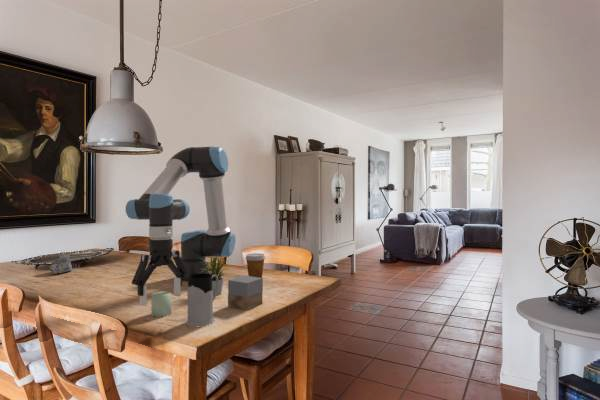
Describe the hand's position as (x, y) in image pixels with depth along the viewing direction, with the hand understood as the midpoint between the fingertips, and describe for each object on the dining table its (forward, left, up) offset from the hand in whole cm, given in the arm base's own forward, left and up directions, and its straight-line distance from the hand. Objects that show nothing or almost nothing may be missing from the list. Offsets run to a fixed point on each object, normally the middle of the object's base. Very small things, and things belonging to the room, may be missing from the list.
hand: (160, 300), depth 123 cm
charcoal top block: (+18, +23, 0) cm, 29 cm away
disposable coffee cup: (-5, +57, -5) cm, 58 cm away
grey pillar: (+17, +4, -5) cm, 18 cm away
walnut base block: (+18, +23, -5) cm, 30 cm away
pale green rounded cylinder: (0, 0, -5) cm, 5 cm away
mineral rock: (-102, +14, -5) cm, 103 cm away
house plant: (-4, +28, -5) cm, 29 cm away
